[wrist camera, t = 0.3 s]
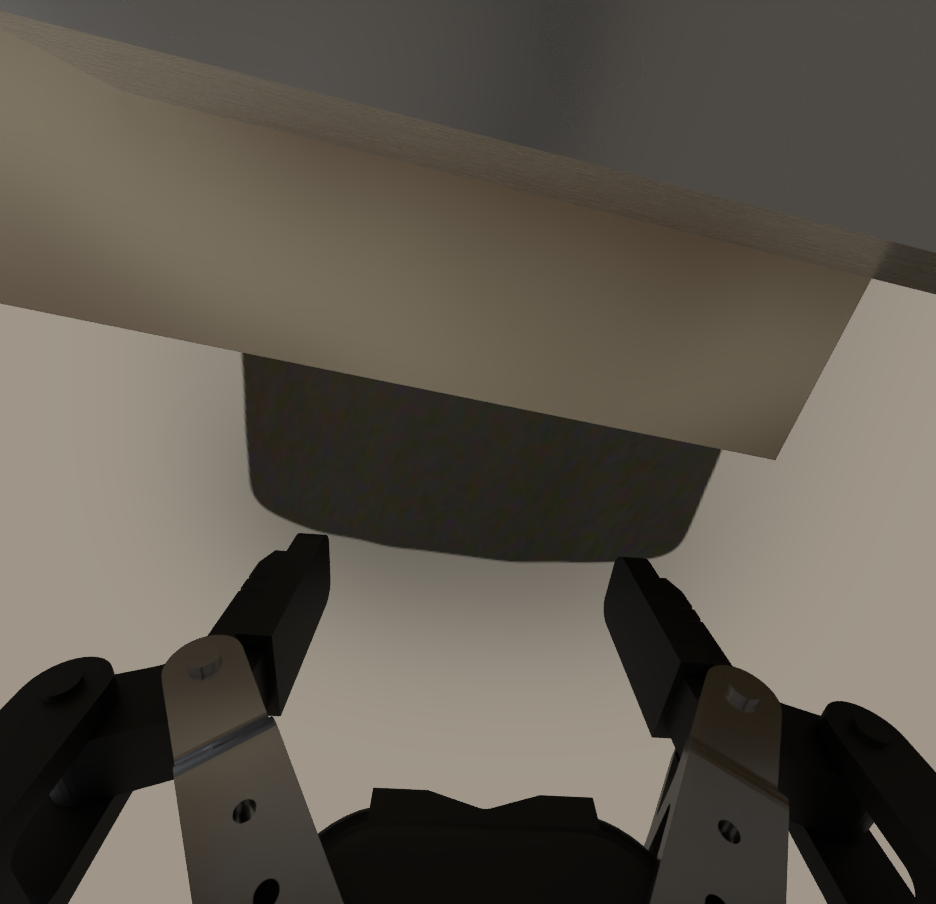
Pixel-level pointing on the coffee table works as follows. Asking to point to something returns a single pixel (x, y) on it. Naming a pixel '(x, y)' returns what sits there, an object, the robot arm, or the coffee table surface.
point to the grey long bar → (576, 102)
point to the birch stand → (396, 268)
